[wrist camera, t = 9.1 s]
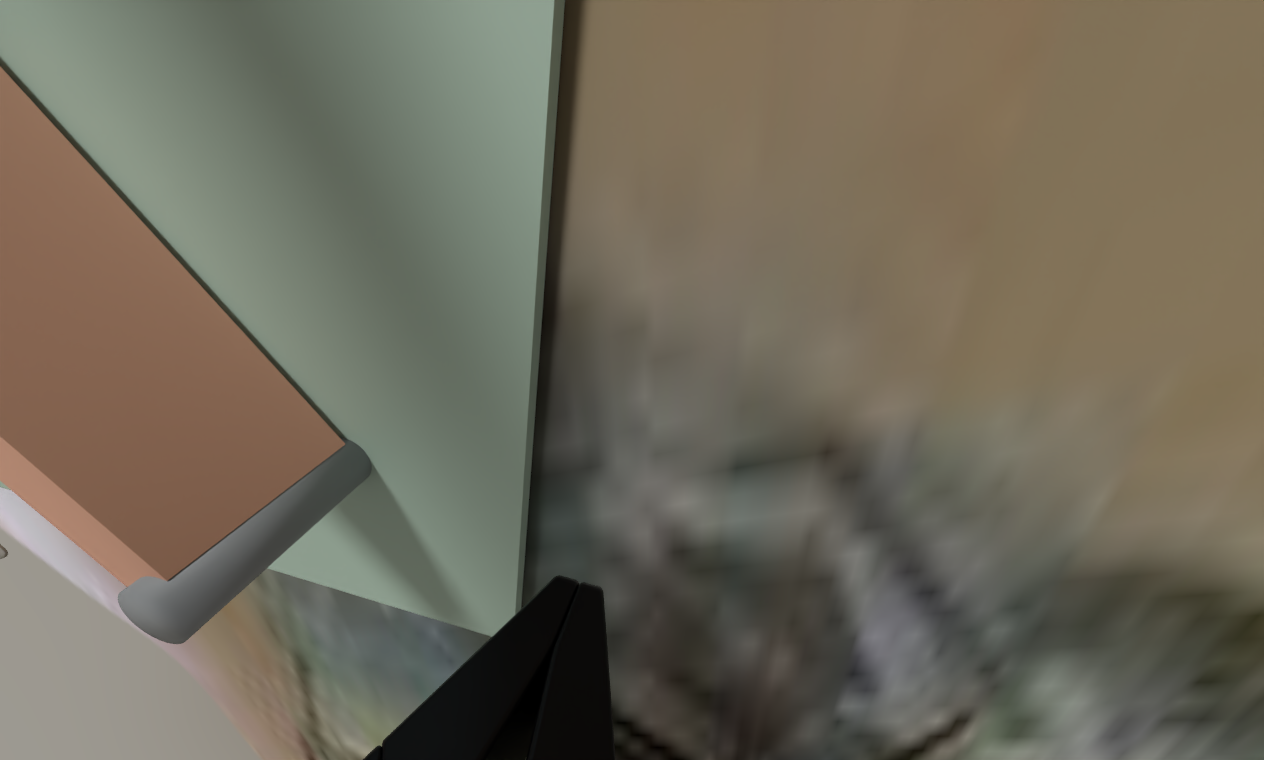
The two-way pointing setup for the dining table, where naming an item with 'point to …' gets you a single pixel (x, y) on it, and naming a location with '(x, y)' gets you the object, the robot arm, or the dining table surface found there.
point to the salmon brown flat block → (142, 397)
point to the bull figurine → (3, 552)
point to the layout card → (348, 239)
